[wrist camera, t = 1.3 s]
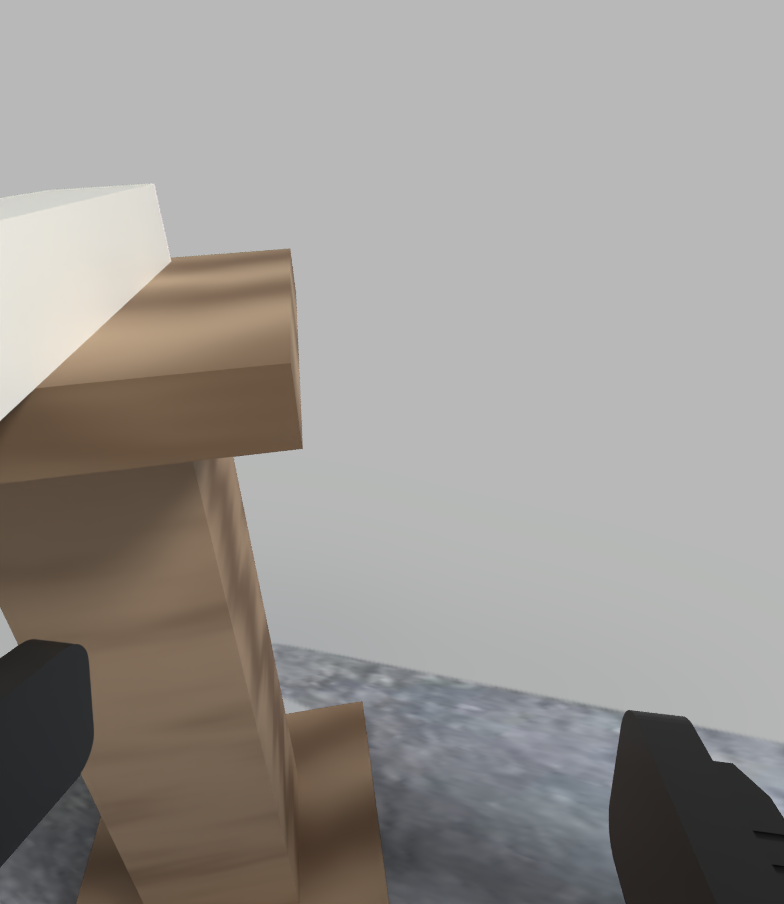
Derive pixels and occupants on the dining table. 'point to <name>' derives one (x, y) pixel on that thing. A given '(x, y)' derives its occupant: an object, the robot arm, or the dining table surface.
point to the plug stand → (183, 599)
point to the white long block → (69, 273)
